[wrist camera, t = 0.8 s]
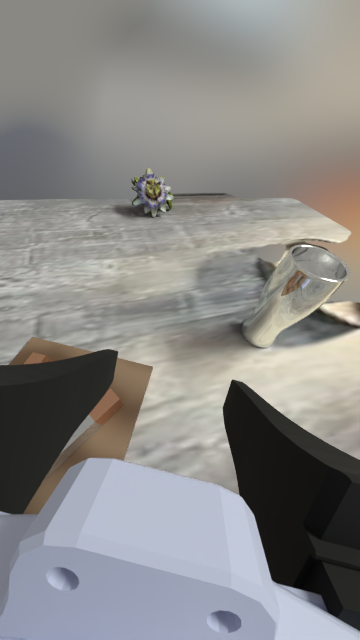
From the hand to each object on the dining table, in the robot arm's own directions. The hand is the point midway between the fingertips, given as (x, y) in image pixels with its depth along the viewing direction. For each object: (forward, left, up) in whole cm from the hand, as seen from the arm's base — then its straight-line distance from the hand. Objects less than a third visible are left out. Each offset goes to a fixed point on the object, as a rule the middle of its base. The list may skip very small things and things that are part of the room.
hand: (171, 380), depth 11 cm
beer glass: (+17, -13, -15) cm, 26 cm away
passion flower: (+54, +18, -15) cm, 59 cm away
